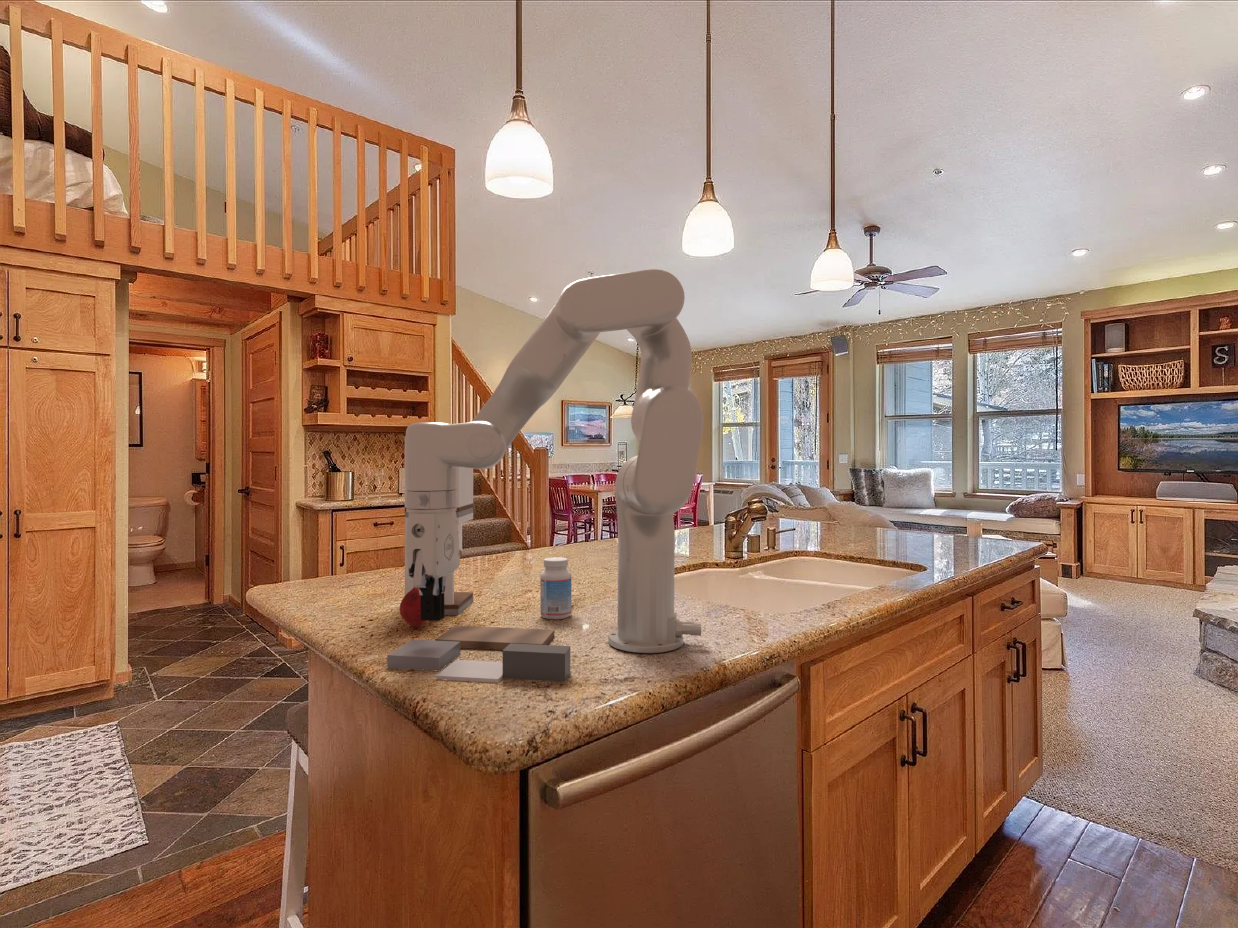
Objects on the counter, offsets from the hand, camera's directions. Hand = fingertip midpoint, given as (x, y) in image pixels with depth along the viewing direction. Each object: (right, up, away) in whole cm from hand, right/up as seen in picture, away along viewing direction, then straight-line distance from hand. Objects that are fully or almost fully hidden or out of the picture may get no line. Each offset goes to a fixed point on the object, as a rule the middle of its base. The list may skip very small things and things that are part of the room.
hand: (432, 619), depth 99 cm
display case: (-8, -6, +31) cm, 33 cm away
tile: (0, -5, +2) cm, 5 cm away
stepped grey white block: (+13, -6, -8) cm, 16 cm away
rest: (+8, -6, +8) cm, 13 cm away
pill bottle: (+17, -6, +25) cm, 31 cm away
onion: (-8, -6, +16) cm, 19 cm away
